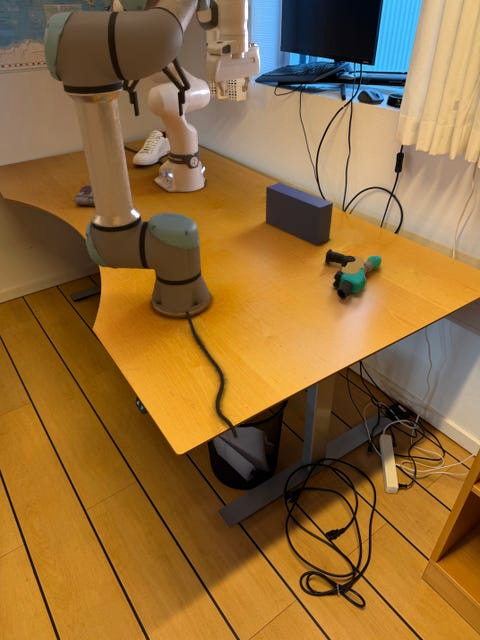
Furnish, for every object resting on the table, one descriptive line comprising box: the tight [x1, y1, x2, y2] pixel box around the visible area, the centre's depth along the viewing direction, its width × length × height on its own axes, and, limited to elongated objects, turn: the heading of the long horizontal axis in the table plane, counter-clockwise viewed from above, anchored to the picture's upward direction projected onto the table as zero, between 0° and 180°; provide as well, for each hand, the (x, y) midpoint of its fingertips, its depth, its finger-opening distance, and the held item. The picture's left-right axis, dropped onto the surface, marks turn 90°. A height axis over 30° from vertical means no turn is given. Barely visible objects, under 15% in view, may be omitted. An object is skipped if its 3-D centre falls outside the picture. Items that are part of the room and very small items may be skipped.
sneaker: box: [132, 129, 170, 166], centre depth 220 cm, size 10×29×12 cm, turn 163°
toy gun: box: [73, 184, 95, 207], centre depth 181 cm, size 4×19×15 cm
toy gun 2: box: [324, 248, 383, 301], centre depth 133 cm, size 4×26×15 cm
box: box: [265, 182, 334, 246], centre depth 156 cm, size 24×6×13 cm, turn 41°
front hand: (159, 115), depth 145 cm, fingers open, 13 cm apart
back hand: (234, 93), depth 155 cm, fingers open, 8 cm apart
